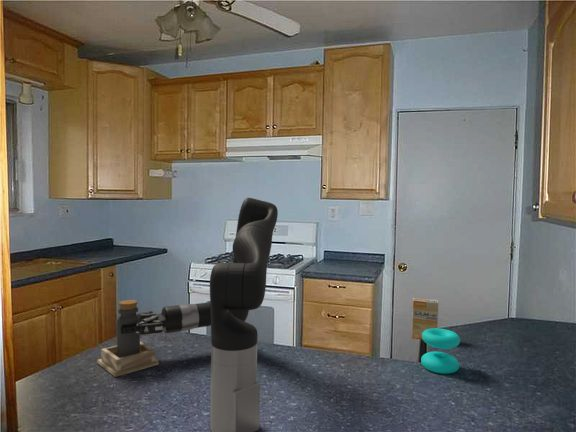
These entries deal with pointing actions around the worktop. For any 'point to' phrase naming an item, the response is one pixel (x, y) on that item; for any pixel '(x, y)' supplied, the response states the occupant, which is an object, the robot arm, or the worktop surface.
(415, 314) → the supplement box
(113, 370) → the bottle holder
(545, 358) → the worktop surface
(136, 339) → the bottle
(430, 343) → the donuts
